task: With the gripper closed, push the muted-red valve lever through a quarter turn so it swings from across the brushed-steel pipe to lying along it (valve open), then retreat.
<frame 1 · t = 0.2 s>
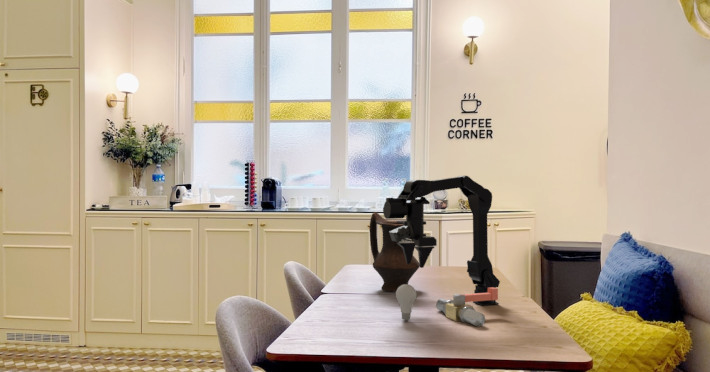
hand: (415, 265, 182), 14 cm above the table, fingers open, 9 cm apart
valve: (459, 318, 170), on the table
jug: (393, 289, 218), on the table
lightbulb: (406, 321, 166), on the table
lever: (475, 296, 172), point 6 cm above the table, hinge at 0.0°
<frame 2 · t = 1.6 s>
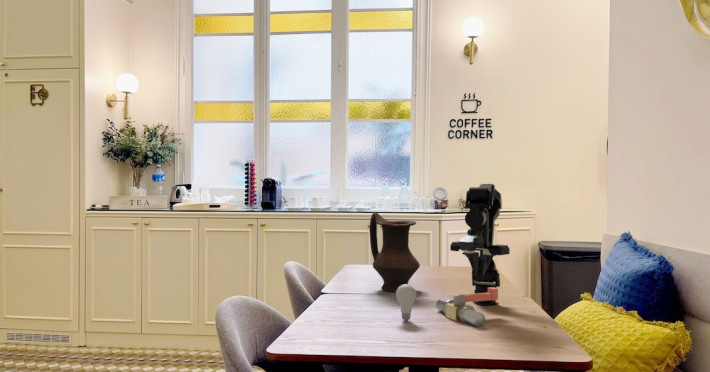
hand: (479, 275, 178), 12 cm above the table, fingers closed
nothing on the table moved.
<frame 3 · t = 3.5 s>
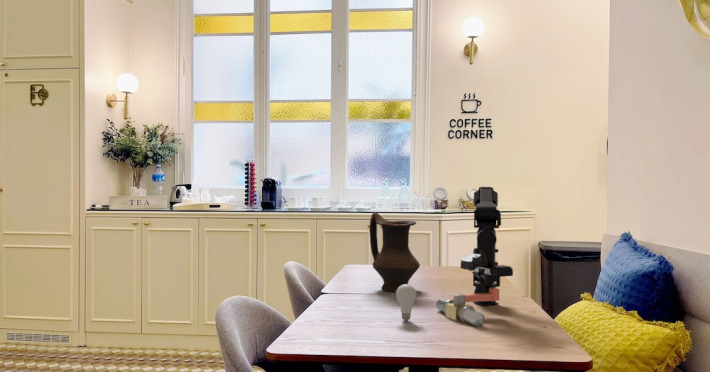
hand: (485, 294, 176), 6 cm above the table, fingers closed
lever: (475, 296, 172), point 6 cm above the table, hinge at 4.2°, touching gripper
everything else where it was.
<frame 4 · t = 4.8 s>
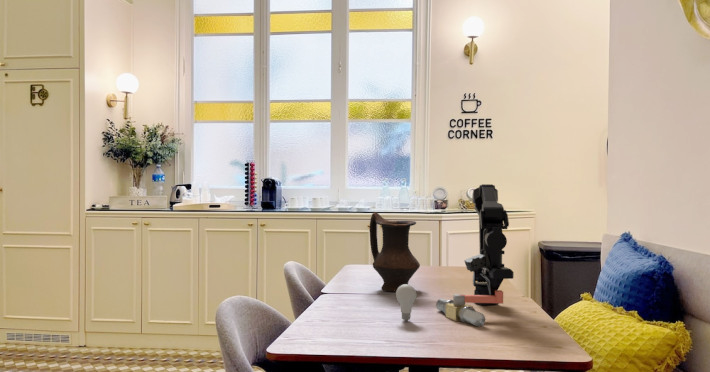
hand: (492, 297, 172), 6 cm above the table, fingers closed
lever: (477, 297, 170), point 6 cm above the table, hinge at 24.2°, touching gripper
everything else where it was.
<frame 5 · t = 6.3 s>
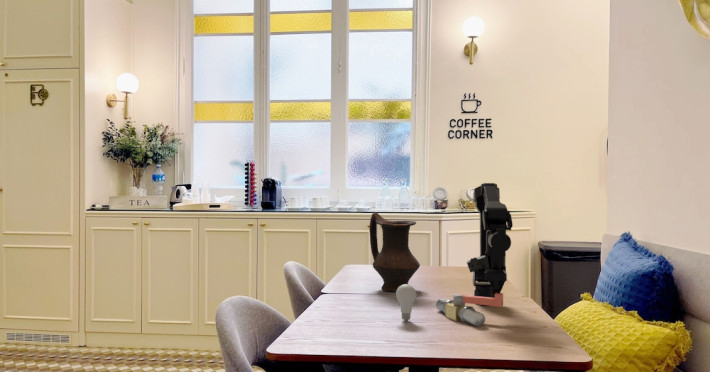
hand: (495, 299, 168), 6 cm above the table, fingers closed
lever: (477, 298, 168), point 6 cm above the table, hinge at 46.3°, touching gripper
everything else where it was.
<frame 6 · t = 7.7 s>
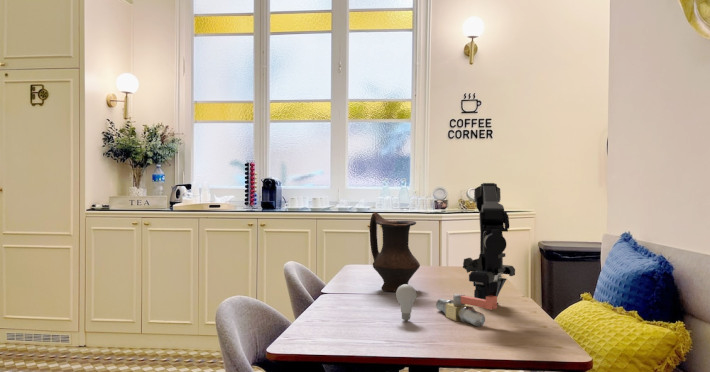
hand: (492, 302, 164), 6 cm above the table, fingers closed
lever: (473, 300, 166), point 6 cm above the table, hinge at 71.4°, touching gripper
everything else where it was.
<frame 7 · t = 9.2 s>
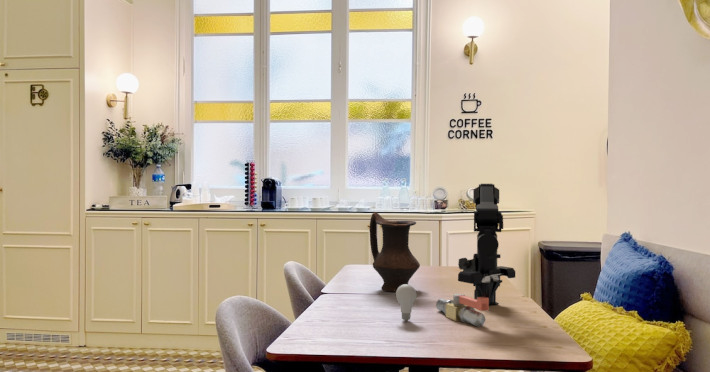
hand: (487, 304, 162), 6 cm above the table, fingers closed
lever: (469, 300, 165), point 6 cm above the table, hinge at 87.7°, touching gripper
everything else where it was.
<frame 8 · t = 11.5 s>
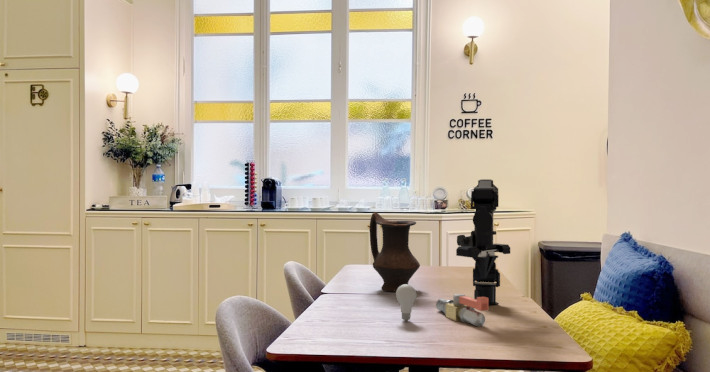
hand: (483, 278, 172), 12 cm above the table, fingers closed
lever: (469, 300, 165), point 6 cm above the table, hinge at 87.9°
everything else where it was.
at the end: lever at +88° (first picture: +0°); lever touching nothing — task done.
